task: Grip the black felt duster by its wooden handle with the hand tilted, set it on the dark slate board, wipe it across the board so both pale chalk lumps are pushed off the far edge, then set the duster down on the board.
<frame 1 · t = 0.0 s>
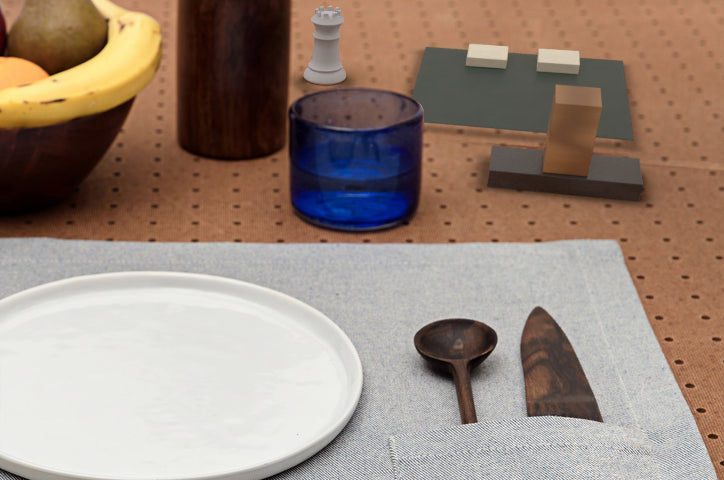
slate board: (517, 100, 105), on the table
duster: (560, 185, 90), on the table
chalk lump left: (486, 60, 111), point 1 cm above the table, touching slate board
rook chess piece: (324, 90, 109), on the table
chalk lump right: (557, 66, 109), point 1 cm above the table, touching slate board
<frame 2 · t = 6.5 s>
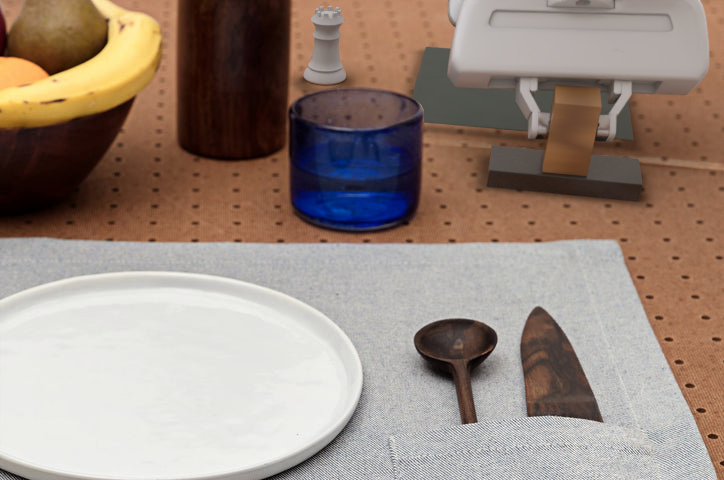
hand: (571, 138, 87), 5 cm above the table, tool tilted 45°, fingers closed on duster, 4 cm apart
duster: (560, 185, 90), on the table, touching gripper
everything else where it was.
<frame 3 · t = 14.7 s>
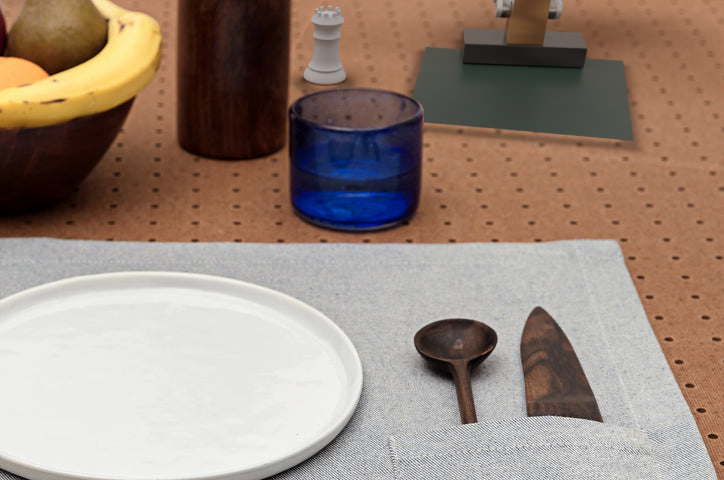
hand: (528, 16, 108), 6 cm above the table, tool tilted 45°, fingers closed on duster, 3 cm apart
duster: (520, 57, 111), point 1 cm above the table, touching gripper
chalk lump left: (482, 57, 116), on the table
chalk lump right: (549, 58, 114), on the table
everything else where it was.
when the fingers open (6 cm above the table, at t = 20.5 s): duster stays where it is, resting on slate board.
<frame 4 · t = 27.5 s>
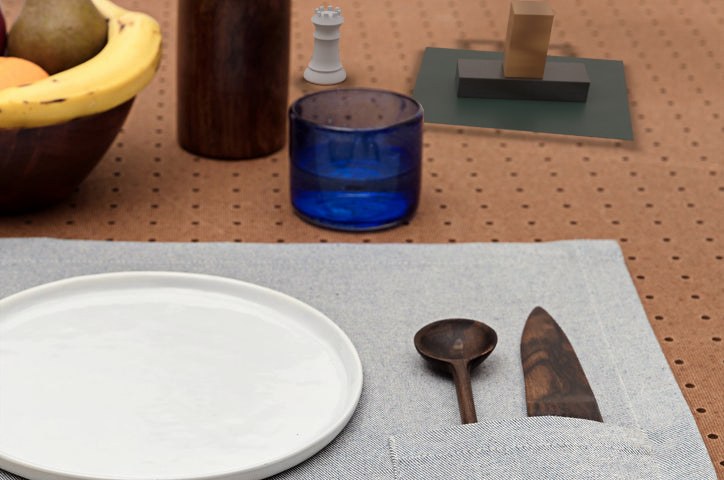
duster: (518, 89, 104), point 1 cm above the table, touching slate board
at the end: chalk lump left on the table; chalk lump right on the table; duster inside the target area on the slate board (0.3 cm from its centre), point 1.2 cm above the slate board's base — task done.
